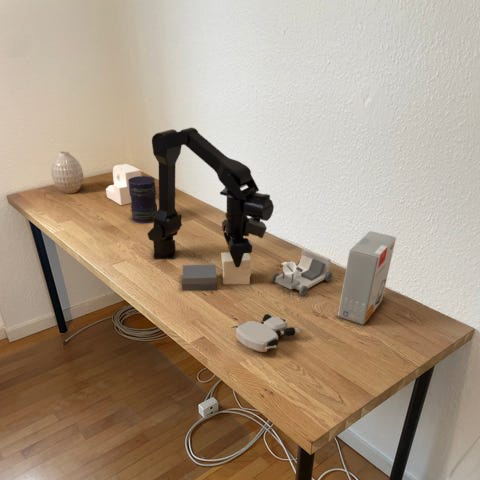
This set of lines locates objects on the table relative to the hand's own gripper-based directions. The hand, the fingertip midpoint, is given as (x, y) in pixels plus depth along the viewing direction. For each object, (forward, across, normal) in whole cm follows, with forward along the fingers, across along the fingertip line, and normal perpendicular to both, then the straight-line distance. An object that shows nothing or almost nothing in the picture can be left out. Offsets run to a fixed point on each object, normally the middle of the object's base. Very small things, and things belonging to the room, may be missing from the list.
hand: (235, 262), depth 143 cm
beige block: (+6, 0, 0) cm, 6 cm away
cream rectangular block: (+1, 0, 0) cm, 1 cm away
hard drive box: (+6, -21, -32) cm, 39 cm away
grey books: (+6, -1, +11) cm, 13 cm away
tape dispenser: (+6, +78, +37) cm, 86 cm away
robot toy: (+6, -32, -3) cm, 33 cm away
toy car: (+6, -4, -19) cm, 20 cm away
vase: (+6, +88, +60) cm, 107 cm away
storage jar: (+6, +53, +28) cm, 60 cm away
